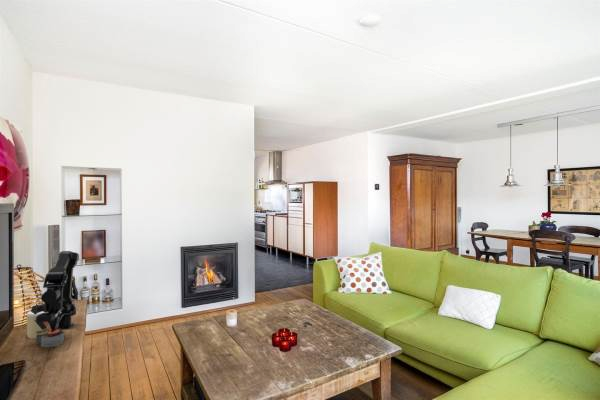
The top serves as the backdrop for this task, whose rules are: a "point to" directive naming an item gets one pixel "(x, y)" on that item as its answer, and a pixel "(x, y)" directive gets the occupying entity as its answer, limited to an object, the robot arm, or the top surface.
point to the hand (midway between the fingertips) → (53, 330)
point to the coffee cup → (35, 325)
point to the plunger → (52, 332)
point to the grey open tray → (50, 339)
